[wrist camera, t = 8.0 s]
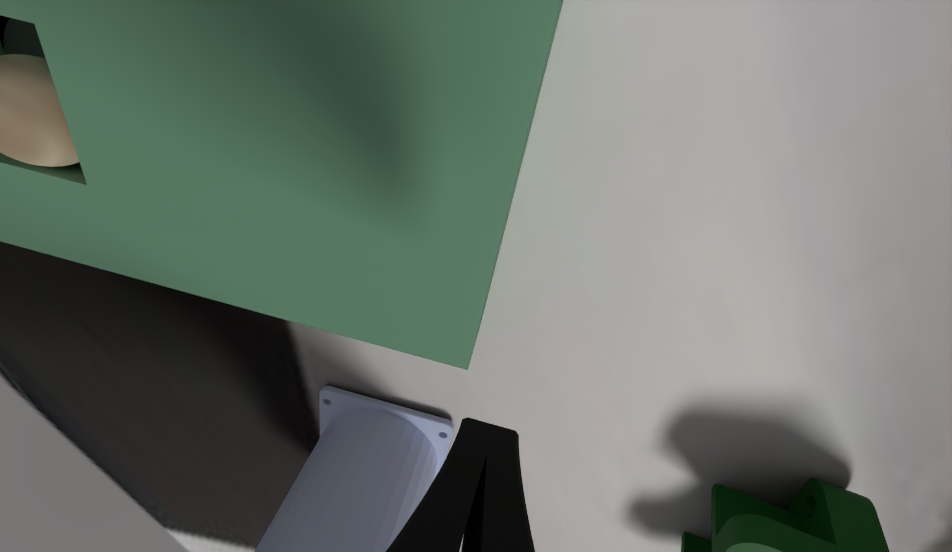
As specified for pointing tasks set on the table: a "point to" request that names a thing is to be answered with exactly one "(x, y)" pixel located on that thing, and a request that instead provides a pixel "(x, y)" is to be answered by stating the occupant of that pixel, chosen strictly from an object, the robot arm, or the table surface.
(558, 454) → the table surface
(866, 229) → the table surface
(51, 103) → the maple ball
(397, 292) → the putting board
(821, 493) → the clamp
